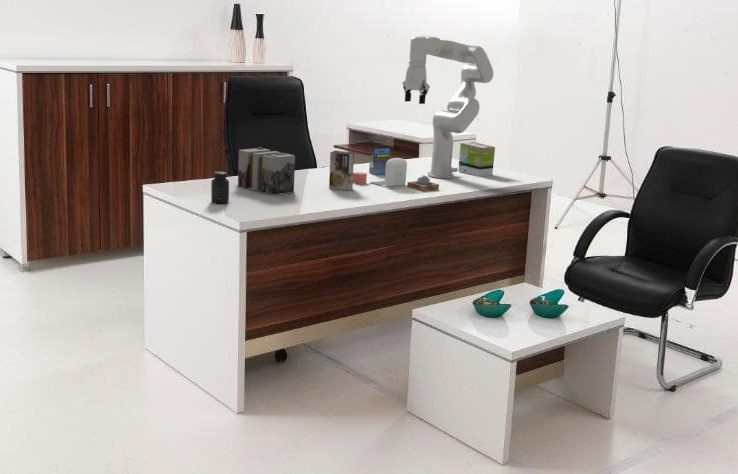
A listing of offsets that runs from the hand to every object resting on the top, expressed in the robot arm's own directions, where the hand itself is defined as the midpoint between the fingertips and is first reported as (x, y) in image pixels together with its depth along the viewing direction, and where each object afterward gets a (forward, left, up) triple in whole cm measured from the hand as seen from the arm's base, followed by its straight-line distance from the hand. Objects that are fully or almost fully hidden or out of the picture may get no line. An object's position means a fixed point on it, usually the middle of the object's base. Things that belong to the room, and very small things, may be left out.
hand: (414, 102), depth 415 cm
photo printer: (+16, +8, -36) cm, 40 cm away
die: (+26, -5, -36) cm, 45 cm away
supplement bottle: (+104, +5, -36) cm, 110 cm away
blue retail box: (+2, -20, -37) cm, 42 cm away
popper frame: (+7, +17, -36) cm, 41 cm away
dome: (+7, +17, -36) cm, 40 cm away
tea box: (-45, -1, -37) cm, 58 cm away
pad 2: (+16, +8, -36) cm, 40 cm away
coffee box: (+42, +2, -36) cm, 56 cm away
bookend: (+73, -10, -37) cm, 82 cm away
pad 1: (+16, +1, -36) cm, 40 cm away
